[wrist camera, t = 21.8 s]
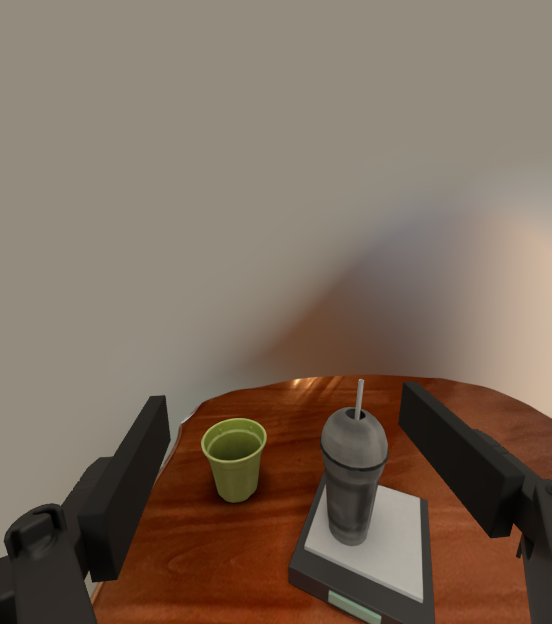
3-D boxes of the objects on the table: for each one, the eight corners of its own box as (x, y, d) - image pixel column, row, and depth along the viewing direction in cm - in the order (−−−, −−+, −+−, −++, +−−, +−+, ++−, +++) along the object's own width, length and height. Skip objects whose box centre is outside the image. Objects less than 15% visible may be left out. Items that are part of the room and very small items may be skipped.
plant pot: (201, 518, 39) (196, 465, 36) (209, 465, 48) (205, 420, 45) (270, 510, 40) (269, 458, 37) (265, 460, 49) (263, 415, 46)
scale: (287, 585, 31) (287, 564, 30) (324, 480, 44) (325, 463, 44) (432, 663, 25) (437, 639, 24) (425, 514, 39) (428, 496, 38)
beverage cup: (369, 499, 38) (381, 359, 33) (389, 560, 30) (409, 393, 25) (313, 499, 38) (317, 360, 33) (321, 559, 31) (328, 393, 26)
